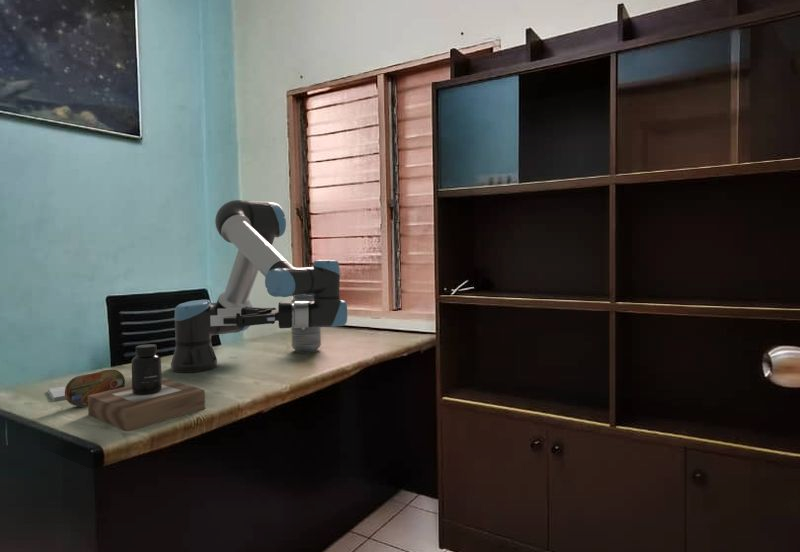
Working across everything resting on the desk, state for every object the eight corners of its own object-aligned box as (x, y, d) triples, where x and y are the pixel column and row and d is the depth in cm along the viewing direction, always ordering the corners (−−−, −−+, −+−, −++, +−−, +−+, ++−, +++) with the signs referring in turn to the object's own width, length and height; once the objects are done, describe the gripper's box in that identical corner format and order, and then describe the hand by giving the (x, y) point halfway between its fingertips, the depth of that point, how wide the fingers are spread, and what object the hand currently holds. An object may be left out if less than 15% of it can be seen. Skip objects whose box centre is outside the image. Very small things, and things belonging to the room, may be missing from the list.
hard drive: (87, 392, 145) (80, 383, 154) (53, 397, 139) (47, 388, 149) (88, 397, 145) (80, 388, 154) (53, 403, 140) (47, 393, 149)
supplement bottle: (149, 396, 126) (148, 348, 125) (126, 395, 127) (124, 348, 127) (167, 388, 133) (166, 343, 132) (145, 387, 134) (143, 342, 133)
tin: (69, 410, 131) (68, 379, 131) (63, 409, 133) (62, 377, 133) (126, 396, 144) (125, 367, 144) (120, 394, 146) (118, 365, 145)
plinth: (88, 414, 128) (87, 395, 128) (164, 395, 144) (164, 378, 144) (126, 431, 116) (125, 409, 116) (204, 408, 132) (204, 389, 132)
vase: (285, 352, 201) (284, 295, 200) (302, 347, 212) (301, 293, 210) (310, 355, 197) (309, 296, 195) (326, 349, 207) (325, 293, 206)
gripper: (293, 335, 132) (207, 339, 127) (292, 320, 156) (220, 323, 152) (293, 307, 131) (206, 309, 127) (292, 296, 156) (219, 298, 151)
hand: (214, 317), depth 139 cm, fingers open, 13 cm apart
